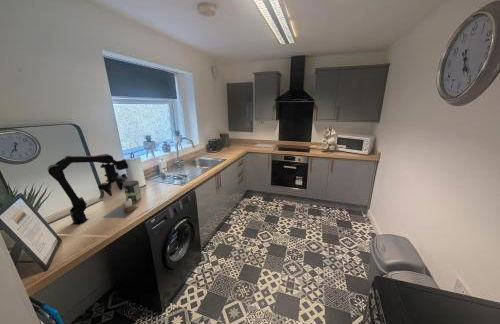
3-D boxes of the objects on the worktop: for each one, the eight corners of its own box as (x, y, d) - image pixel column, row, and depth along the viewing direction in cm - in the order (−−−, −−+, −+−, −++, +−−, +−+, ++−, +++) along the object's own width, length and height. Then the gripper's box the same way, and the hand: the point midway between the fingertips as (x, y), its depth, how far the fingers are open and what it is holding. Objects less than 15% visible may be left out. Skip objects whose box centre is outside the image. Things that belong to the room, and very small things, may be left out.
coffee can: (129, 204, 142) (125, 186, 138) (125, 199, 149) (121, 183, 145) (144, 199, 149) (140, 182, 145) (139, 195, 156) (136, 179, 152)
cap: (123, 208, 130) (121, 200, 129) (128, 204, 135) (126, 197, 133) (129, 208, 130) (127, 200, 128) (134, 205, 134) (132, 197, 132)
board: (102, 218, 125) (102, 217, 125) (118, 207, 138) (118, 206, 138) (125, 218, 123) (125, 217, 123) (139, 207, 137) (138, 206, 136)
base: (121, 212, 130) (120, 209, 129) (128, 207, 137) (128, 203, 136) (131, 212, 129) (130, 209, 129) (137, 207, 136) (137, 204, 135)
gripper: (110, 177, 119) (116, 199, 124) (131, 167, 137) (135, 187, 142) (94, 177, 120) (101, 199, 125) (117, 167, 138) (121, 187, 143)
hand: (116, 192), depth 133 cm, fingers open, 9 cm apart
